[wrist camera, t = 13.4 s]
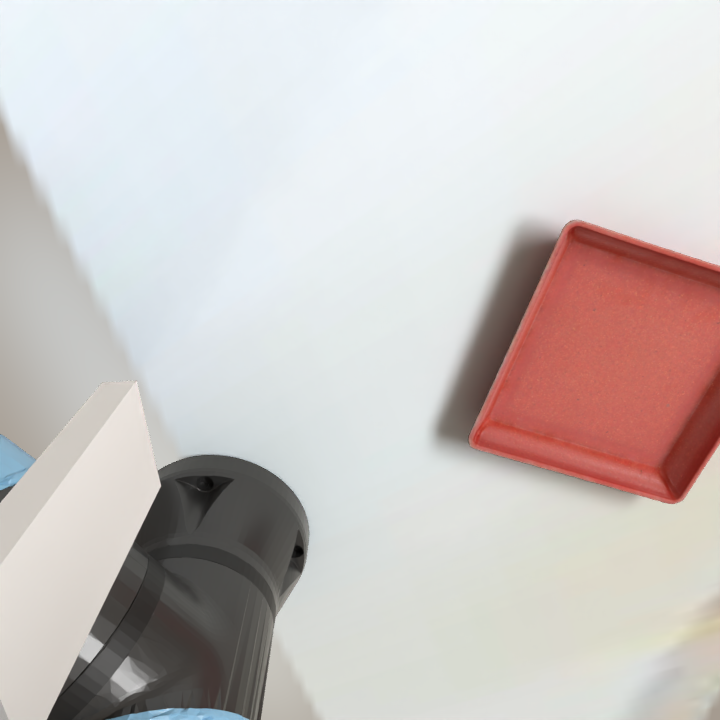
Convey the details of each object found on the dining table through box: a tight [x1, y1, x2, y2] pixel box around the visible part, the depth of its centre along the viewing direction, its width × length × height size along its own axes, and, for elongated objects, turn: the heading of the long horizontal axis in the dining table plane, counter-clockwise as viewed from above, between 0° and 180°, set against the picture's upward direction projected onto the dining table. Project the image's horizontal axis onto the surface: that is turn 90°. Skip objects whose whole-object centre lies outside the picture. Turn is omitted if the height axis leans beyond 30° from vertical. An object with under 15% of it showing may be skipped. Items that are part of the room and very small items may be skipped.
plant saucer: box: [468, 220, 720, 504], centre depth 47 cm, size 18×18×3 cm
